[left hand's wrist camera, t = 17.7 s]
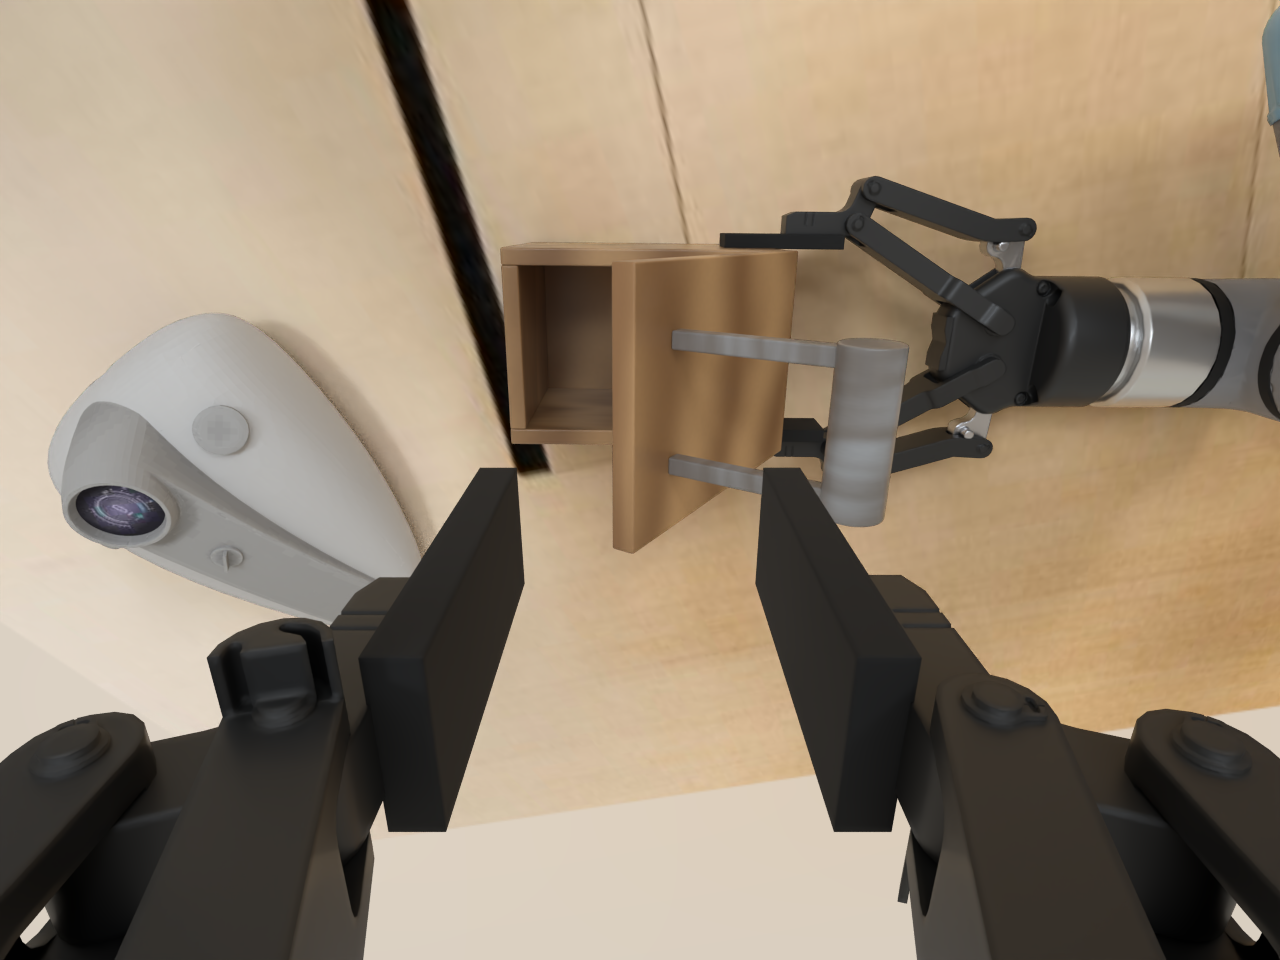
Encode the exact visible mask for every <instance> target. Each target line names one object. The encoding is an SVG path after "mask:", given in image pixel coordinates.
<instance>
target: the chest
mask: <svg viewBox="0 0 1280 960" xmlns="http://www.w3.org/2000/svg"><path fill="white" fill-rule="evenodd" d="M765 251H781V249H775V248H724V247H720V244H648V243H553V242H531V243H526V244H520V245H513V246H507V247H502V248H501V249H500V252H501V264H502V267H501V269H502V287H503V304H504V321H505V338H506V355H507V373H508V390H509V407H510V424H511V428H512V429H511V441H512V443H513V444H610V445H613V433H612V262H613V261H624V260H639V259H655V258H671V257H687V256H702V255H718V254H734V253H749V252H765ZM783 251H786V250H783Z"/></svg>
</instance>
